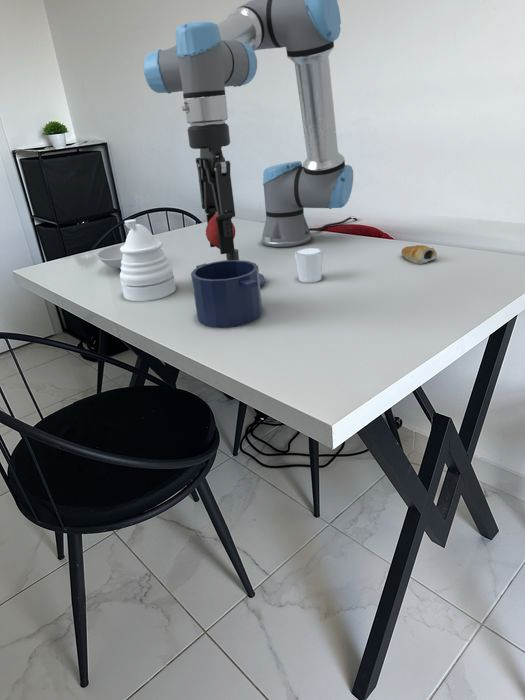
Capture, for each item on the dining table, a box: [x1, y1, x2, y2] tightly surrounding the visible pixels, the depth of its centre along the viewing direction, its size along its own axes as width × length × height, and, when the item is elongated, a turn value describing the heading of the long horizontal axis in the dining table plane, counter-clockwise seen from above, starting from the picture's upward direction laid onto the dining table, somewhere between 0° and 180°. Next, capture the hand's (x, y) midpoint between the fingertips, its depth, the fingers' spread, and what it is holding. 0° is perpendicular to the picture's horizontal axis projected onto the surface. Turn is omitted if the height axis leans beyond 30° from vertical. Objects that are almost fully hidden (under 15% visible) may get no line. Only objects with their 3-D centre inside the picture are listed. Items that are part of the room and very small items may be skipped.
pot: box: [190, 259, 263, 329], centre depth 107 cm, size 14×19×10 cm
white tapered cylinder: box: [294, 247, 324, 284], centre depth 125 cm, size 7×7×7 cm
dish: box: [95, 243, 125, 269], centre depth 147 cm, size 18×14×5 cm
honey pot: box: [119, 219, 177, 302], centre depth 123 cm, size 13×13×18 cm
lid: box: [225, 248, 266, 286], centre depth 125 cm, size 15×15×9 cm
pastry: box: [400, 244, 437, 265], centre depth 133 cm, size 9×7×4 cm
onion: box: [205, 212, 236, 250], centre depth 101 cm, size 6×6×8 cm
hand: (222, 249), depth 103 cm, fingers closed on onion, 6 cm apart
